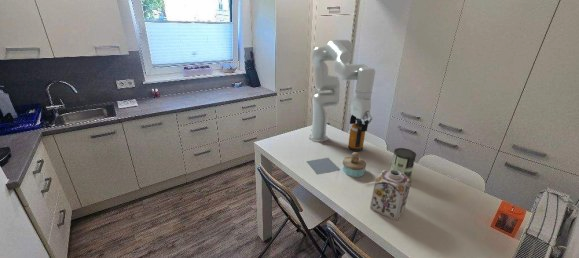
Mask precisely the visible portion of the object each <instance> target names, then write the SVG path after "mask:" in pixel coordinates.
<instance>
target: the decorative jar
mask: <svg viewBox="0 0 579 258" xmlns="http://www.w3.org/2000/svg"><path fill="white" fill-rule="evenodd" d="M411 184H412V181H411V178H410V179H409V178H408V177H407V176H406V175H405V174H404V173H402V172H399V171H398V170H391V169H383V170H381V171H380V172H379V174H378V176H377V177H376V179H375V181H374V184H373V190H372V195H371V199H370V205H369V209H370V210H371V211H374V212H376V213H379V214H381V215H383V216H385V217H387V218H390V219H391V220H393V221H395V222H397V221H398V220H399V218H400V216H401V215H402V213H403V212H404V210H405V207H406V205H407V200H408V198H409V194H410V188H411Z"/></svg>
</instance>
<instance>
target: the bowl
mask: <svg viewBox="0 0 579 258" xmlns="http://www.w3.org/2000/svg"><path fill="white" fill-rule="evenodd" d="M342 172H343V173H344V174H345V175H348V176H349V177H353V178H359V177H360V178H361V177H362V176H364V174H365V172H366V167H365V168H364V169H362V170H353V169H349V168H347V167H346V166H344V165H342Z"/></svg>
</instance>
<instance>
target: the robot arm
mask: <svg viewBox="0 0 579 258" xmlns="http://www.w3.org/2000/svg"><path fill="white" fill-rule="evenodd" d="M353 50H354V46H353V43H352V41H350V40H349V39H331V40H329V41H328V42H327V44H326V45H321V46H316V47H314V49H313V50H312V53H311V60H312V62H313V64H312V65H313V68H314V89H316V90H317V91H322V92H318V93H315V94H313V96H312V99H311V100H312V125H311V129H310V130H311V133H310V134H309V136H308V137H309V139H310V140H311V141H313V142H317V143H321V142H322V143H323V142H327V140H328V139H329V137H328V135H327V125H328V112H327V111H326V109H325V108H333V107H337V106H338V105H339V104H340V94H341V93H340V91H341V89H340V86H341V84H340V79H341V81H345V82H347V81H349V82H350V81H356V83H355V92H354V94H353V97H352V100H351V105H349V115H350V119H349V125H353V124H355V123H357V120H356V119H357V118H358V119H361V121H362V126H361V132H364V131H365V132H367V131H368V127H369V124H370V123H371V121H372V120H373V116H372V114H371V109H372V94H373V93H372V92H373V86H374V82H375V78H376V77H375V75H376V70H375V68H374V67H370V66H368V65H366V64H363V63H362V64H361V63H360V64H359V63H352V64H348V63H349V62H350V61H351V58H352V52H353ZM331 61H332V62H334V64H333V65H334V66H333V67H334V72H335V74H336V75H335V74H329V66H328V65H327V63H326V62H331ZM339 78H340V79H339ZM324 91H327V92H324ZM328 91H330V92H328Z"/></svg>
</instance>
